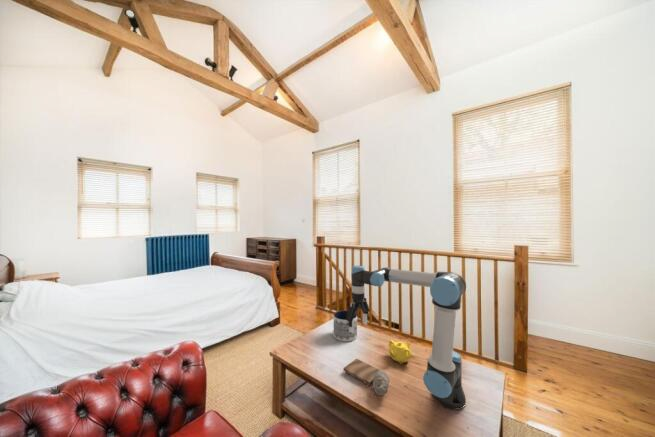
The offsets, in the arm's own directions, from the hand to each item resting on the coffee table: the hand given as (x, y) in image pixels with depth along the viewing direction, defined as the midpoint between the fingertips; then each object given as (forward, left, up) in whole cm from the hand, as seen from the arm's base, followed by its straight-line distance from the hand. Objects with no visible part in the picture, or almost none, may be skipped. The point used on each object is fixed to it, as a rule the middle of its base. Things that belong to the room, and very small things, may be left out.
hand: (358, 328), depth 141 cm
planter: (+33, -28, -26) cm, 50 cm away
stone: (-18, +6, -26) cm, 32 cm away
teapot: (-12, -28, -26) cm, 40 cm away
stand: (-3, +1, -26) cm, 26 cm away
